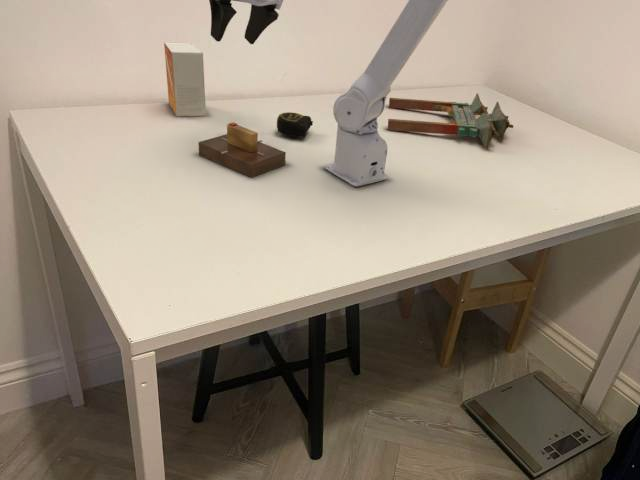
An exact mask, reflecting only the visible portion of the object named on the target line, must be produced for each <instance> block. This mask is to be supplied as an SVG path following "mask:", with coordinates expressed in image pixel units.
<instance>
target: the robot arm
mask: <svg viewBox="0 0 640 480" xmlns="http://www.w3.org/2000/svg"><path fill="white" fill-rule="evenodd" d="M208 1H209V7H210V20H211V21H210V23H211V24H210V37H212V38H213V39H214V40H215V42H221V41H222V39H223V37H224V35H225V33H226V30H227V27H228V26H229V23H230V22H231V20H232V19H233V18H234V16H235V15H236V14H237V10H236V9H235V8H234V7H233V3H231V2H239V3H245V4H250V14H249V18H248V22H247V25H246V28H245V31H244V39H245V41H247V42H248V43H249V44H250V45H254V44H255V43H256V42H257V40H258V39H259V37H260V36H261V35H262V33H263V32H264V31H266V29H267V28H268V27H269V26H270V25H271V24H272V23H274V22H276V21H277V20H278V19H279V16H280V14H279V13H278V12H277V10H281V8H282V5H283V2H284V0H208ZM448 1H449V0H408V1H407V3H406V4H405V6H404V7H403V9H402V11H401V12H400V14H399V15H398V18H397V19H396V20H395V21H394V24H393V25H392V27H391V28H390V29H389V31H388V33H387V35H386V36H385V38H384V39H383V41H382V43H381V44H380V46H379V47H378V50H377V51H376V53H375V54H374V56H373V57H372V58H371V61H370V62H369V63H368V65H367V66H366V69H365V70H364V72H363V73H362V74H361V75H360V76H359V77H358V78H357V79H356V80H355V81H354V82H353V83H352V84H351V86H350V87H349V88H348V90H347V91H346V92H344V93H343V94H341V95H339V96H338V97H337V98H336V99H335V101H334V104H333V108H332V113H333V117H334V120H335V122H336V123H337V130H336V139H335V151H334V160H333V161H334V163H329V164H325V165H324V166H323V169H325V170H326V171H328V172H330V173H331V174H333V175H335V176H336V177H337V178H339V179H340V180H343V181H345V182H346V183H348V184H349V185H351V186H353V187H354V188H355V187H356V188H357V187H361V186H366V185H369V184H373V183H377V182H381V181H385V180H387V176H386V175H385V170H386V164H387V157H388V143H387V141H386V140H385V139H384V138H383V137H382V136H381V134H380V133H379V131H378V127H379V125H378V118H379V117H380V116H381V115H382V114H383V112H384V111H385V108H386V100H387V97H388V96H389V94H390V93H391V89H392V87H391V86H392V84H393V83H394V82H395V80H396V79H397V77H398V76H399V74H400V72H401V71H402V69H404V66H405V65H406V64H407V62H408V61H409V59H410V58H411V56H412V55H413V53H414V52H415V50H416V49H417V47H418V46H419V44H420V43H421V42H422V40H423V38H424V37H425V36H426V34H427V32H428V31H429V30H430V28H431V26H432V25H433V23H434V22H435V20H436V19H437V18H438V16H439V15H440V13H441V11H442V10H443V9H444V7H445V5H446V4H447V3H448Z"/></svg>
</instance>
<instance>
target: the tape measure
mask: <svg viewBox="0 0 640 480" xmlns="http://www.w3.org/2000/svg"><path fill="white" fill-rule="evenodd" d="M313 123H314V120H312V118H311V116H309V115H303V114H300V113H297V112H292V111H291V112H290V111H289V112H282V113H280V114H279V115H278V117H277V119H276V129H277V131H278V133H280V134H282V135H284V136H288V137H299V138H300V137H301V138H302V137H303V138H304V137H305V136H306V134H307V132H308V131H309V130H310V128H311V127H312V126H313Z"/></svg>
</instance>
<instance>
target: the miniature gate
mask: <svg viewBox="0 0 640 480" xmlns="http://www.w3.org/2000/svg"><path fill="white" fill-rule="evenodd" d="M388 108H389V109H400V110H414V111H426V112H427V111H428V112H441V113H447V115H448V116H451V117H452V119H450V122H440V121H439V122H436V121H424V120H412V119H411V120H409V119H396V118H388V119H387V131H394V132H396V131H397V132H409V133H423V134H437V135H448V136H449V135H450V136H451V135H452V136H458V137H472V138H477V136H478V137H479V139H480V141H481V143H482V144H483V147H484V148H485V150H486V151H489V147H490V144H491V141H492V139H493V137H494V136H496V137H498V138H499V140H500V142H504V140H503V139H504V136H505V134H506V132H507V129H508V128H511V129H513V128H514V124H511V123H510V120H509V115H506V114H504V112H503V111H502V109H501V106H500V102H499V101H496V103H495V105H494V107H493V110H492V111H491V113H489V112H488V108H489V107H488V106H485V105H484V104H483V102H482V101H481V99H480V95H479V93H476V94H475V96H474V98H473V99H472V102H471V104H469V103H468V102H457V101H441V100H428V99H427V100H426V99H414V98H413V99H412V98H402V97H401V98H398V97H389V102H388Z"/></svg>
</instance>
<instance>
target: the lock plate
mask: <svg viewBox="0 0 640 480" xmlns="http://www.w3.org/2000/svg"><path fill="white" fill-rule="evenodd" d="M286 153H287V152H286V151H283V150H281V149H279V148H277V147H274V146H271V145H269V144H266V143H263V140H262V139H259V140H258V151H255V152H252V153H251V152H249V151H246V150H244V149H241V148H239V147H236V146H234V145H231V144H229V143H227V133H225V134H222V135H219V136H215V137H212V138H208V139H205V140H201V141H198V156H200V157H203V158H205V159H207V160H209V161H212V162H215V163H217V164H219V165H221V166H223V167H226V168H229V169H231V170H233V171H234V172H238V173H240V174H243V175H245V176H247V177H249V178H254V177H257V176H259V175H261V174H264V173H265V174H266V173H267V172H269V171H272V170H275V169H278V168H281V167H282V166H285V165H286V157H287V155H286Z"/></svg>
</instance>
